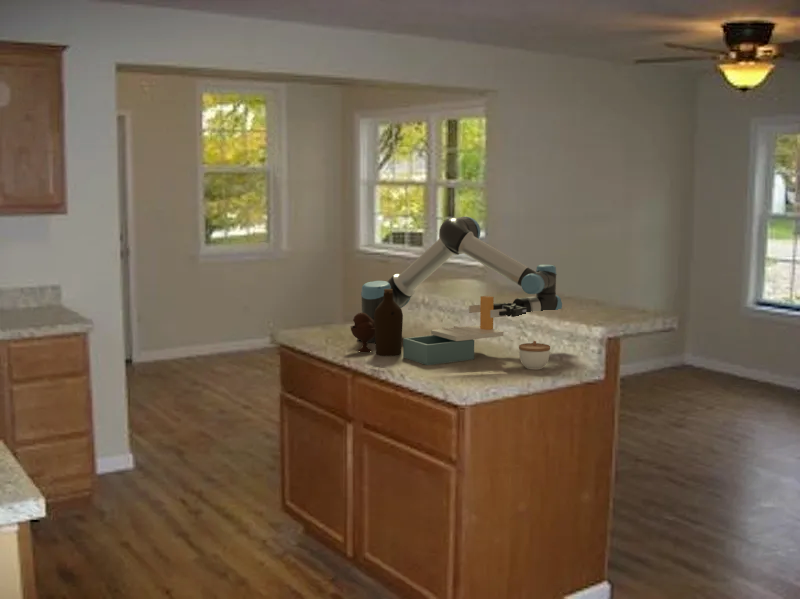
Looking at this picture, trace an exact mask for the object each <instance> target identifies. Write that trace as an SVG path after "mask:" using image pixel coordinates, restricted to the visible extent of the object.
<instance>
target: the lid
mask: <svg viewBox="0 0 800 599" xmlns="http://www.w3.org/2000/svg"><path fill="white" fill-rule="evenodd" d="M494 298H495V297H494V296H491V295H490V296H489V295H481V296H480V304H479V305H480V312H479V313H480V314H479V315H480V320H479V322H480V324H479V325H478V324H477V325H476V324H475V325H467V326H466V325H465V326H457V325H453V327H449V328H448V327H446V326H443V327H442V328H439V329H438V328H437V329H431V330H430V335H435V336H439V337H443V338H446V339H450V340H454V341H463V340H472V339H473V340H479V339H487V338H488V339H489V338H497V337H498V338H499V337H504V334H505V333H504V331H502V330H499V329H494V318H490V310H493V303H495V302H494V301H495V300H494Z"/></svg>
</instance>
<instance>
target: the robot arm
mask: <svg viewBox="0 0 800 599" xmlns="http://www.w3.org/2000/svg"><path fill="white" fill-rule="evenodd" d="M480 238H481V227H480V224H479V222H478V221H477V220H475V218H473V217H470V216H460V217H450V218H448V219H446V220H445V221H443V222H442V224H441V225H440V227H439V233H438V239H437V240H436V241H435V242H433V244H432V245H430V247H429V248H428V249H426V250H425V251H424V252H423V253H422V254H421V255H420V256H418V258H417V259H415V260H414V261H413V262H412V263H411V264H410V265H408V267H406V268H405V269H404V270H403V271H402V272H401V273H395V274H393V276H391V277H390V278H389V279H387V281H385V280H373V281H368V282H365V283H364V284H363V285H362V286H361V292H360V295H361V313H366V314H367V315H368V316H369V317H371V318H372V319H373V320H374V313H375V310H376V308H377V307H378V305H379V304H380V303H381V302H382V301H383V300H384V289H393V291H392V293H393V300H394V301H395V302H396V303H397V304H398V306H399V307H400V308H401V309H402V308H403V307H405V306H406V305H407V304H408V303H409V302H410V301H411V298H412V297H413V296H414V295H415V289H417V288H418V287H419V286H420V285H421V284H422V283H423V282H424V281H425V280H427V279H428V278H429V277H430V276H431V275H432V274H433V273H435V271H437V270H438V269H439V268H440V267H441V266H443V264H444V263H446V262H447V261H448V260H449V259H451V257H452V256H453V255H455V256H458V255H462V254H464V255H466V256H468V257H469V258H471V259H473V260H475V261H476V262H478V263H480V264H482V265H483V266H485V267H487V268H488V269H490V270H492V271H493V272H496V273H497V274H498V275H501V276H502V277H504V278H505V279H508V281H511V282H513V283H514V284H516V285H518V286H519V287H521V289H522V291H524V292H525V293H526V294H527V295H535V296H526V297H517V298H515V299H514V300H513V302H507V303H506V302H503V303H502V302H501V303H500V302H499V303H498V302H497V303H496V302H494V303H493V310H490V318H493V319H494V318H503V317H508V318H509V317H511V318H514V317H516V316H519V315H522V314H526V312H531V311H532V312H533V311H543V310H558V309H561V310H562V309H563V302H562V298H561V297H560V296H559V295H557V275H558V274H557V266H555V265H553V264H538V265H537V266H536V269H535V270H536V271H535V270H534V269H531V268H530V267H528V266H527V265H525V264H523V263H521V262H520V261H518V260H516V259H514V258H512V257H511V256H510V255H507V254H506V253H504V252H502V251H500V250H499V249H497V248H495V247H493V245H490V244H488V243H487V242H485V241H483V240H482V239H480ZM474 313H480V304H472V305H468V314H474ZM367 343H375V337H374V338H372V339H370V340H368V341H367Z"/></svg>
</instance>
